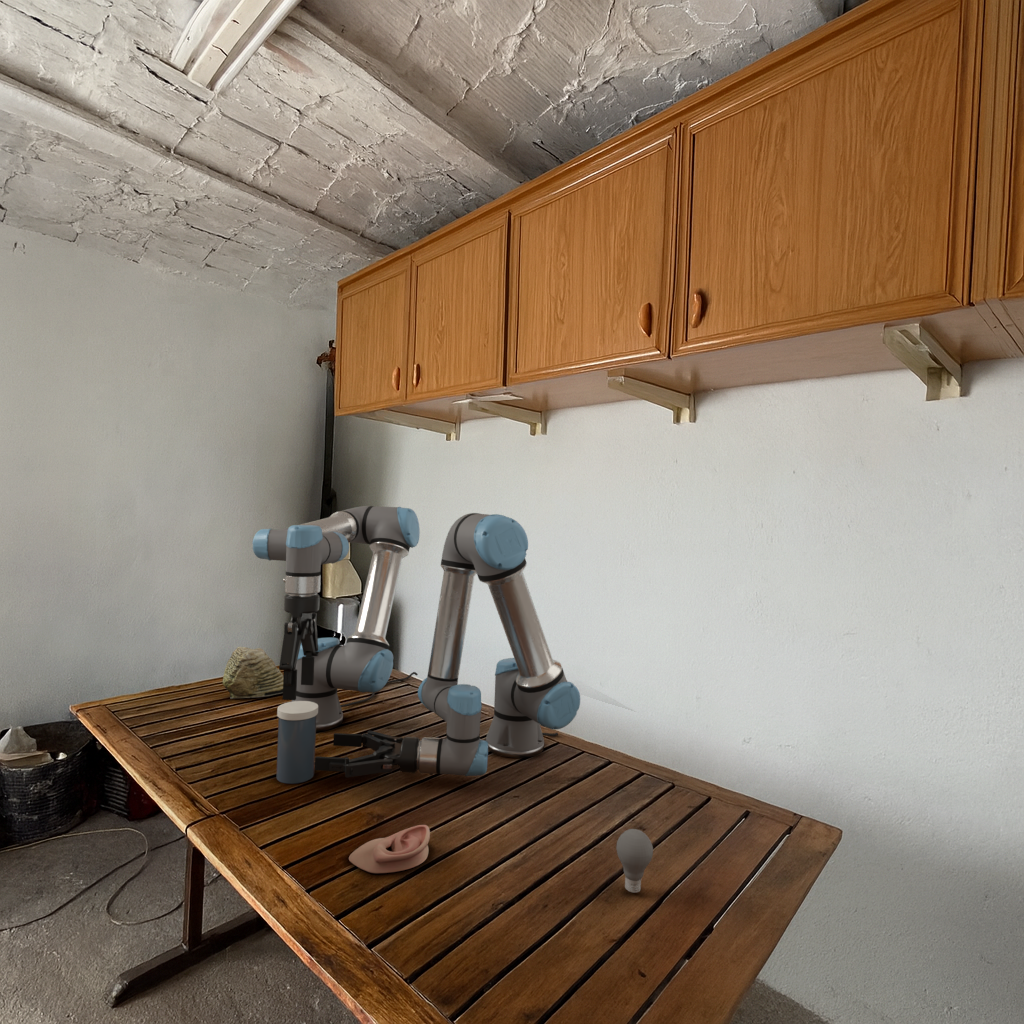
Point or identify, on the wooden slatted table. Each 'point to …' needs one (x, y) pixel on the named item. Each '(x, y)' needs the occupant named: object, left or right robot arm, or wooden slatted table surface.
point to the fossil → (252, 674)
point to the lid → (297, 710)
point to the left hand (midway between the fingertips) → (298, 691)
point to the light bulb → (634, 857)
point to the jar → (296, 750)
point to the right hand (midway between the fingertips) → (324, 750)
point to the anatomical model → (393, 851)
